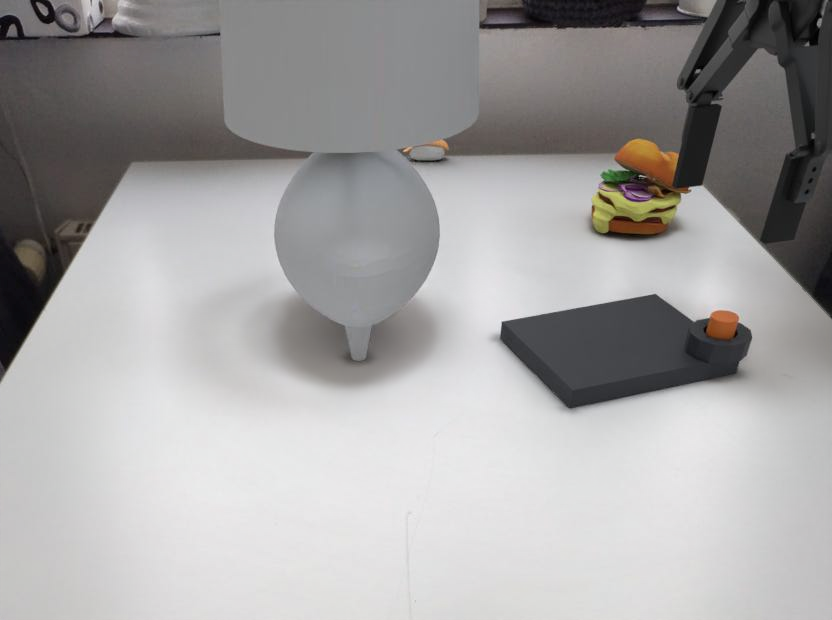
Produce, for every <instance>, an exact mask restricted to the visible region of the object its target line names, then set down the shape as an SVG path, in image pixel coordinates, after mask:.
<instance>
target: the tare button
mask: <svg viewBox="0 0 832 620" xmlns="http://www.w3.org/2000/svg"><path fill="white" fill-rule="evenodd" d="M709 318H710V319H709V323H708V327H707V330H706V334H707V335H708V336H710V337H714V338H717V339H731V338H733V337H734V334H735V331H736V328H737V324H738V323H739V321H740V316H739V315H738V314H737V313H736V312H734V311H730V310H726V309H720V310H714V311H712V312H711V313H710V316H709Z"/></svg>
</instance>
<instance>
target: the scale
mask: <svg viewBox="0 0 832 620" xmlns="http://www.w3.org/2000/svg"><path fill="white" fill-rule="evenodd" d="M709 319H710V317H706V318H701V319H697V320H695V321H694V320H692V319H691V318H689V317H688V316H686V314H684V313H683V312H682V311H680V310H678V309H677V308H676V307H674V306H673V305H672V304H670V303H669V302H667V300H665V299H663V298H662V297H661V296H659V295H658V294H656V293H653V294H647V295H642V296H636V297H630V298H625V299H621V300H620V299H619V300H614V301H607V302H603V303H597V304H592V305H586V306H580V307H576V308H570V309H565V310H559V311H553V312H548V313H547V312H546V313H543V314H542V313H541V314H536V315H531V316H526V317H519V318H514V319H508V320H504V321H503V320H502V321H501V324H500V325H501V326H500V335H499V339H500V340H501V341H502V342H503V343H504V344H505V345H507V347H508V348H509V349H510V350H511V351H512V352H513V353H514V354H515V355H517V357H518V358H519V359H520V360H522V362H523V363H525V365H527V367H529V369H530V370H531V371H532V372H533V373H534V374H535V375H536V376H537V377H538V378H539V379H541V381H542V382H543V383H544V384H545V385H546V386H547V387H549V388H550V390H551V391H552V392H553V393H554V394H555V395H556V396H557V397H558V398H559V399H561V400H562V402H563V403H564V404H565V405H567V407H569V408H571V409H572V408H576V407H580V406H585V405H591V404H595V403H599V402H604V401H609V400H614V399H619V398H623V397H628V396H633V395H639V394H642V393H647V392H653V391H657V390H662V389H667V388H673V387H676V386H681V385H687V384H691V383H696V382H700V381H701V382H702V381H707V380H710V379H714V378H721V377H724V376H729V375H735V374H737V372H738V370H739V367H740V366H739V365H740V362H741V361H743V359H745V358H746V357H747V355H748V353H749V350H750V346H751V344H752V341H753V334H752V330H751V329H750V328H749V327H747V326H746V325H744V324H743V323H741V322H738V324H737V328H736V331H735V334H734V337H733V338H731V339H717V338H714V337H710V336H708V335H707V334H706V330H707V327H708V323H709Z"/></svg>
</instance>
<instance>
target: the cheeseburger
mask: <svg viewBox="0 0 832 620" xmlns="http://www.w3.org/2000/svg"><path fill="white" fill-rule="evenodd" d="M678 157H679V153H677V152H675V151H667V152H663V151H661V150H660V148H659V146H658V145H657V144H656V143H654V142H653V141H650V140H647V139H643V138H636V139H632V140H629V141H628V142H627V143H626V144H625V145H624V146H622V147H621V148H620V149H619V151H618V152H617V153H616V154H615V156H614V157H613V160H614V161H615V162H616V164H618V165H619V166H621V168H623V169H624V170H622V169H621V170H620V169H619V170H614V169H610V168H609V169H608V170H607V171H604V170H603V171H602V172H601V174H600V178H602V181H601V182H600V183H598V185H597V192H596V193H595V194H594V195H593V196H592V197H591V203H592V205H591V211H590V212H591V214H590V216H591V221H592V225H593V228H594V229H595V230H596V231H597V233H599V234H606V233H608V232H612V233H621V234H636V235H651V236H652V235H654V234H659V233H662V232H665V231H666V229H667V228H668V227H669V225H670V223H671V221H673V219H674V218H675V216H676V213H677V210H678V205H680V203H681V202H682V195H681V194H684V195H687V194H690V193H691V192H692V189H690V187H686V188H678V189H676V188H674V187H673V186H672V183H673V179H674V174H675V170H676V166H677V161H678Z"/></svg>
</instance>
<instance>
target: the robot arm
mask: <svg viewBox="0 0 832 620" xmlns="http://www.w3.org/2000/svg"><path fill="white" fill-rule="evenodd" d="M807 44H808V45H807ZM760 49H764V50H765V51H766V52H767V53H768V55H771V56H774V57H776V59H777V64H778V65H779V66H780V67H781V68H783V69H784V73H785V74H784V75H785V81H786V88H787V96H788V103H789V111H790V118H791V126H792V132H793V139H794V146H795V148H794V149H792V150H791V151H790V152H788V153H786V154H785V156H784V160H783V163H782V167H781V170H780V172H779V177H778V179H777V183H776V186H775V189H774V193H773V196H772V199H771V202H770V206H769V209H768V212H767V215H766V218H765V222H764V225H763V228H762V232H761V235H760V238H759V241H760V242H761V243H762V244H764V245H767V244H775V243H783V242H791V241H794V240H795V237H796V235H797V231H798V229H799V227H800V223H801V219H802V217H803V213H804V211H805V207H806V204H807V202H808V203H809V202H810V201H811V199H812V198H813V196H814V194H815V191H816V187H817V185H818V182H819V179H820V177H821V173H822V170H823V167H824V164H825V162H826V160H827V158H829V156H831V155H832V0H715V3H714V4H713V7H712V9H711V11H710V12H709V14H708V17H707V19H706V21H705V23H704V25H703V27H702V28H701V31H700V33H699V34H698V36H697V38H696V41H695V42H694V45H693V46H692V49H691V51H690V53H689V55H688V57H687V59H686V61H685V63H684V65H683V67H682V69H681V71H680V72H679V75H678V76H677V80H676V88H677V89H678V91H684V92H685V101H686V103H687V105H688V106H687V109H686V115H685V119H684V124H683V128H682V132H681V145H680V148H679V152H678V154H679V157H678V161H677V166H676V170H675V174H674V179H673V183H672V186H673V187H674V188H676V189H678V188H686V187H689V188H694V187H703V183H704V180H705V176H706V172H707V168H708V163H709V160H710V156H711V153H712V147H713V143H714V140H715V136H716V132H717V128H718V124H719V120H720V115H721V112H722V108H723V105H722V104H719V103H712V102H718V101H723V100H724V97H723V92H724V91H725V90H726V89H727V87H728V86H729V85H730V83H732V81H733V80H734V79H735V77H736V76H737V75H738V74H739V73H740V72H741V70H742V69H743V68H744V67H745V66H746V64H747V63H748V62H749V61H750V59H751V58H752V57H753V56H754V54H755V53H756V52H757V51H758V50H760ZM697 70H699V72H697ZM813 134H814V138H813V136H812V135H813Z"/></svg>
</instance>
